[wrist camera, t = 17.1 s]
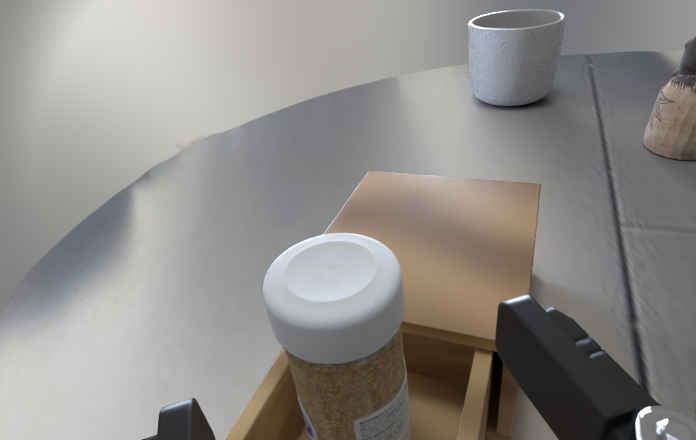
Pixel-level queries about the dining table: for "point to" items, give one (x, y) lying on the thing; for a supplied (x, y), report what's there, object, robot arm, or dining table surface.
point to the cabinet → (453, 258)
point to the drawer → (423, 391)
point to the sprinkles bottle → (343, 335)
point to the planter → (514, 55)
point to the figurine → (676, 112)
